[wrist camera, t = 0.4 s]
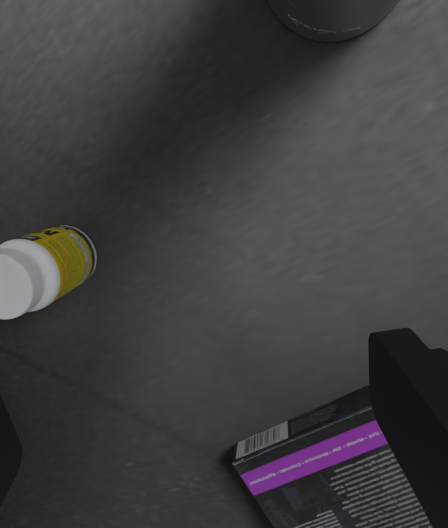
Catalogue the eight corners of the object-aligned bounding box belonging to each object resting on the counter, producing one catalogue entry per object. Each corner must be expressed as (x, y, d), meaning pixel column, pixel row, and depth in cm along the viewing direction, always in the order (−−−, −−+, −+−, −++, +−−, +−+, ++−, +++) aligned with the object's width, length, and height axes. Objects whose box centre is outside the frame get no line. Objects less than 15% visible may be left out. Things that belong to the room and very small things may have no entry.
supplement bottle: (77, 213, 30) (9, 231, 22) (109, 268, 31) (55, 305, 23) (26, 241, 31) (-57, 269, 23) (59, 294, 32) (-11, 339, 24)
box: (234, 435, 35) (337, 604, 37) (229, 464, 31) (344, 648, 34) (389, 369, 32) (489, 558, 34) (403, 393, 28) (513, 601, 31)
